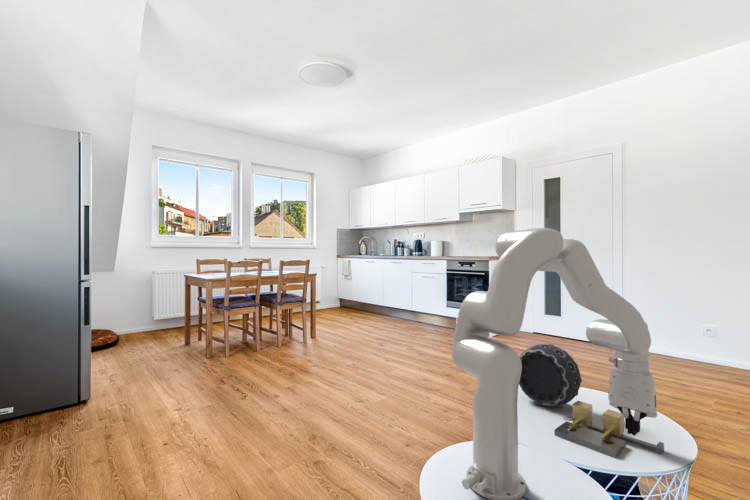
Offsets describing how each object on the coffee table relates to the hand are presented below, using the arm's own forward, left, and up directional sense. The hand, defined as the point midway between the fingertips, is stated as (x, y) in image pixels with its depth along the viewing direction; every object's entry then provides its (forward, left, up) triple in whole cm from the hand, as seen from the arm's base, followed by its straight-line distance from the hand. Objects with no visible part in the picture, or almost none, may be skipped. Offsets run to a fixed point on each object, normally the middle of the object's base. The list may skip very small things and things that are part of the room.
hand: (632, 432), depth 97 cm
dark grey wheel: (+8, +26, -3) cm, 28 cm away
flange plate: (-8, +8, -3) cm, 12 cm away
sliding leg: (-4, +4, -1) cm, 6 cm away
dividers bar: (-4, +4, -3) cm, 6 cm away
